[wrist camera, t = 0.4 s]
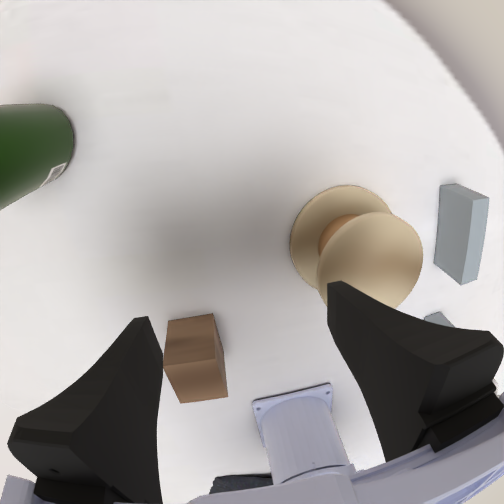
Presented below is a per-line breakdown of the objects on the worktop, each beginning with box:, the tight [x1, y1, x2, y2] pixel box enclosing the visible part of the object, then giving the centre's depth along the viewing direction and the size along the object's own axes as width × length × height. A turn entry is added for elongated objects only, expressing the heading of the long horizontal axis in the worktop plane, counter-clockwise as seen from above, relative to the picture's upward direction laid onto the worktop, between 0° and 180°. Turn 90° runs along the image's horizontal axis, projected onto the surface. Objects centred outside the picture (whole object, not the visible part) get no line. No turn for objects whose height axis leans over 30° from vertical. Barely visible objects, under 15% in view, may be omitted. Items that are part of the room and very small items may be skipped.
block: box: [163, 313, 228, 403], centre depth 22 cm, size 4×4×5 cm
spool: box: [290, 185, 423, 309], centre depth 20 cm, size 8×8×5 cm
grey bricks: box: [424, 184, 489, 327], centre depth 24 cm, size 20×2×4 cm, turn 8°
